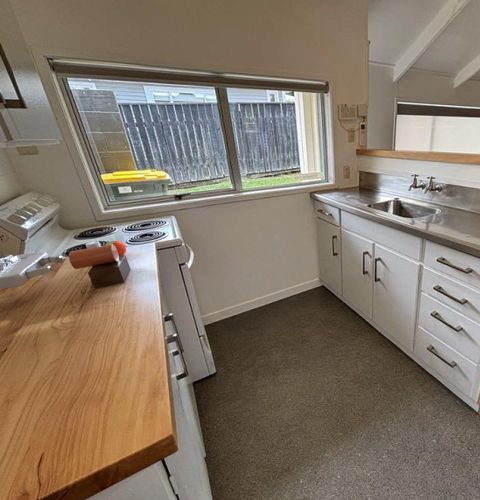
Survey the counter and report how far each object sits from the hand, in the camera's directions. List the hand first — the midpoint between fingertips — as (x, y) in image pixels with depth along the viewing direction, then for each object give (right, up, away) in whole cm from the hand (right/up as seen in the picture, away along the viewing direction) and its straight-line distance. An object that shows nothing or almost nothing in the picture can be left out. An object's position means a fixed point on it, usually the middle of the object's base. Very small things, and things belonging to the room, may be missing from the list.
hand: (56, 263), depth 90 cm
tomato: (-2, +1, +27) cm, 27 cm away
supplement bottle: (-6, -1, +23) cm, 23 cm away
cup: (+9, -1, +5) cm, 10 cm away
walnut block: (+11, -6, +9) cm, 15 cm away
